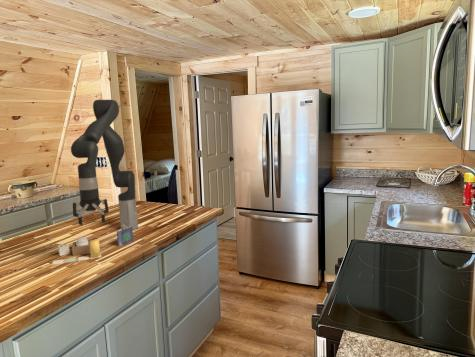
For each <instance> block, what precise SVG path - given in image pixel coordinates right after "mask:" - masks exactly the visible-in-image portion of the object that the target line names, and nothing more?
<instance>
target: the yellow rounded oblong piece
mask: <svg viewBox="0 0 475 357" xmlns="http://www.w3.org/2000/svg"><path fill="white" fill-rule="evenodd" d="M90 240H91V241H89V245H90V253H89V254H90V255H91V258H92V259H97V258H96V257H98V258H100V257H99V256H100V254H101V248H100V240H99V239H90Z"/></svg>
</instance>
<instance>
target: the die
mask: <svg viewBox="0 0 475 357" xmlns="http://www.w3.org/2000/svg"><path fill="white" fill-rule="evenodd" d="M57 249H58V250H57V251H58V255H59V256H60V257H61V256H65V255H67V256H68V255H70V254H71V251H70V245H69V244H68V243H63V244H58V245H57Z"/></svg>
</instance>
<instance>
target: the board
mask: <svg viewBox="0 0 475 357" xmlns="http://www.w3.org/2000/svg"><path fill="white" fill-rule="evenodd" d="M87 240H88V243H89V241H91V240H92V239H87ZM71 246H72V247H71V251H72V256H73V257H70V258H66V259H64V258H63V259H57V260H52V263H51V266H53V265H60V264H64V263H66V264H67V263H72V262H76V261H79V262H80V261H85V260H89V259H91V260H93V258H91V254H90V245H83V246H76V241H73V242H72V245H71ZM88 254H90V255H88ZM82 255H84V256H82ZM74 256H75V257H74ZM76 256H78V257H76ZM98 258H102V253H100V256H99V257H96V258H95V259H98Z"/></svg>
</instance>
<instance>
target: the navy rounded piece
mask: <svg viewBox="0 0 475 357" xmlns="http://www.w3.org/2000/svg"><path fill="white" fill-rule="evenodd" d="M121 226H122V225H121V224H120V227H121ZM133 238H134V234H133V230H132V226H125V225H124V224H123V226H122V229H121V228H120V229H118V230H116V240H117V247H122V246H124V245H126V244H128V243H131V242H133V241H134V239H133Z"/></svg>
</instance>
